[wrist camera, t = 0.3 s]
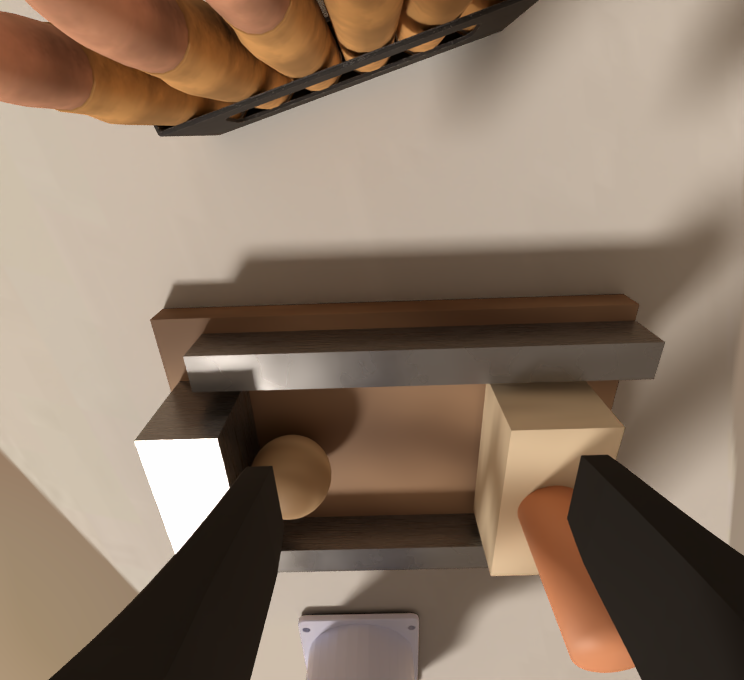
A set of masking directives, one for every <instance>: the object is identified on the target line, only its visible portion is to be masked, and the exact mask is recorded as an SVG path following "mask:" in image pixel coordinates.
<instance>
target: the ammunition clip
mask: <svg viewBox="0 0 744 680" xmlns="http://www.w3.org/2000/svg"><path fill="white" fill-rule="evenodd" d="M25 1H26V2H27V3H28V4H29V5H30V6H31V7H32V8H33V9H34V10H36V11H37V12H38V13H39V14H40V15H42V16H43V17H44V18H45V19H47V20H48V21H49V22H41V21H38V20H34V19H31V18H28V17H24V16H20V15H17V14H13V13H7V12H2V11H0V101H2V102H6V103H11V104H15V105H21V106H26V107H36V108H49V109H55V110H58V111H60V112H68V113H77V114H85V115H89V116H91V117H94V118H96V119H99V120H101V121H104V122H107V123H111V124H125V125H154V127H155V129H156V131H157V133H158V135H159V136H205V135H221V134H224V133H226V132H229V131H232V130H235V129H237V128H240V127H243V126H245V125H248V124H251V123H253V122H256V121H259V120H262V119H264V118H267V117H270V116H272V115H275V114H278V113H280V112H283V111H286V110H289V109H291V108H294V107H297V106H299V105H302V104H305V103H308V102H310V101H313V100H316V99H318V98H321V97H324V96H326V95H329V94H332V93H335V92H337V91H340V90H343V89H345V88H348V87H351V86H353V85H356V84H359V83H362V82H364V81H367V80H370V79H372V78H375V77H378V76H380V75H383V74H386V73H389V72H391V71H394V70H397V69H399V68H402V67H405V66H407V65H410V64H413V63H416V62H418V61H421V60H424V59H426V58H429V57H432V56H434V55H437V54H440V53H443V52H445V51H448V50H451V49H453V48H456V47H459V46H462V45H464V44H467V43H470V42H472V41H475V40H478V39H480V38H483V37H486V36H489V35H491V34H494V33H497V32H499V31H502V30H503V29H504V28H505V27H507V26H508V25H509V24H510V23H511V22H513V21H514V20H515V19H516V18H518V17H519V16H520V15H521V14H522V13H524V12H525V11H526V10H527V9H529V8H530V7H531V6H532V5H533V4H535V3H536V2H537V1H538V0H323V2H324V4H325V7H326V10H327V13H328V15H329V16H328V17H326V18H324V15H323V13H322V11H321V9H320V7H319V4H318V2H317V0H206V2H205V1H203V0H25Z"/></svg>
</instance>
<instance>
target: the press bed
mask: <svg viewBox="0 0 744 680" xmlns="http://www.w3.org/2000/svg"><path fill="white" fill-rule="evenodd" d="M638 308H639V304H638V303H636V302H635V301H633V300H632V299H630V298H629V297H627V296H626V295H624V294H612V295H580V296H549V297H518V298H486V299H455V300H423V301H392V302H360V303H329V304H298V305H266V306H235V307H203V308H172V309H162V310H161V311H160V312H159V313H158V314H156V315H155V316H154V317H153V318H152V319H151V320H150V321H151V324H152V328H153V331H154V335H155V338H156V341H157V345H158V348H159V352H160V355H161V359H162V362H163V365H164V369H165V372H166V376H167V379H168V382H169V386H170V389H171V393H170V394H169V396H168V397H167V398H166V400H165V401H164V402H163V404H162V405H161V406H160V408H159V409H158V410H157V412H156V413H155V414H154V416H153V417H152V418H151V420H150V421H149V422H148V423H147V425H146V426H145V427H144V429H143V430H142V431H141V433H140V434H139V435H138V437H137V438H136V439H135V444H136V447H137V450H138V452H139V455H140V458H141V461H142V464H143V466H144V469H145V472H146V475H147V477H148V480H149V483H150V486H151V488H152V491H153V494H154V497H155V499H156V502H157V505H158V508H159V510H160V513H161V516H162V519H163V522H164V524H165V527H166V530H167V533H168V535H169V538H170V541H171V544H172V546H173V549H174V552H175V554H176V553H177V552H178V551H179V549H180V548H181V547H182V546H183V545H184V544H185V542H186V541H187V540H188V539H189V538H190V536H191V535H192V534H193V533H194V532H195V530H196V529H197V528H198V527H199V526H200V524H201V523H202V522H203V521H204V520H205V518H206V517H207V516H208V515H209V513H210V512H211V511H212V510H213V508H214V507H215V506H216V505H217V503H218V502H219V501H220V500H221V498H222V497H223V496H224V494H225V493H226V492H227V491H228V489H229V488H230V487H231V485H232V484H233V483H234V481H235V480H236V479H237V478H238V476H239V475H240V474H241V472H242V471H243V470H244V469H245V468H246V467H253V466H273V471H274V476H275V482H276V487H277V492H278V497H279V502H280V508H281V513H282V518H283V523H284V533H283V540H282V547H281V554H280V561H279V567H278V572H315V571H360V570H404V569H449V568H489V567H488V564H487V560H486V556H485V552H484V549H483V545H482V541H481V537H480V533H479V530H478V526H477V522H476V518H475V515H474V511H473V507H474V498H475V488H476V478H477V468H478V458H479V449H480V439H481V429H482V419H483V409H484V400H485V390H486V384H498V383H533V382H568V381H586V382H587V383H588V384H589V385H590V387H591V388H592V389H593V390H594V391H595V393H596V394H597V395H598V396H599V397H600V398H601V400H602V401H603V402H604V403H605V404H606V406H607V407H608V408H609V409H610V410H611V409H612V405H613V402H614V398H615V394H616V390H617V387H618V383H619V380H637V379H654V377H655V373H656V370H657V367H658V364H659V360H660V357H661V354H662V351H663V348H664V344H665V342H664V341H663V340H661V339H660V338H659V337H657V336H656V335H655V334H653V333H652V332H650V331H649V330H648V329H646V328H645V327H644V326H642V325H641V324H640V323H638V322H637V321H635V319H636V315H637V312H638Z"/></svg>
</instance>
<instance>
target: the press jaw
mask: <svg viewBox="0 0 744 680" xmlns="http://www.w3.org/2000/svg"><path fill="white" fill-rule="evenodd" d="M624 430H625V427H624V426H623V425H622V423H621V422H620V421H619V420H618V419H617V417H616V416H615V415H614V414H613V413H612V411H611V410H610V409H609V408H608V407H607V406H606V404H605V403H604V402H603V401H602V400H601V398H600V397H599V396H598V395H597V394H596V393H595V391H594V390H593V389H592V388H591V387H590V385H589V384H588V383H587V382H586V381H568V382H533V383H498V384H486V390H485V400H484V409H483V419H482V429H481V439H480V449H479V458H478V468H477V478H476V488H475V498H474V507H473V511H474V515H475V518H476V522H477V526H478V530H479V533H480V537H481V541H482V545H483V549H484V552H485V556H486V560H487V564H488V567H489V571H490V575H491V576H512V575H540V578H541V580H542V583H543V586H544V588H545V591H546V594H547V596H548V599H549V602H550V604H551V607H552V610H553V612H554V615H555V618H556V620H557V623H558V626H559V628H560V631H561V634H562V636H563V639H564V642H565V644H566V647H567V650H568V652H569V655H570V658H571V660H572V661H573V663H574V664H575V665H577V666H578V667H580V668H582V669H585V670H588V671H592V672H600V673H608V672H618V671H623V670H627V669H631V668H634V667H635V665H634V663H633V661H632V659H631V657H630V655H629V653H628V651H627V649H626V647H625V645H624V643H623V641H622V639H621V637H620V635H619V633H618V631H617V629H616V628H615V626H614V624H613V622H612V620H611V618H610V616H609V614H608V612H607V610H606V608H605V606H604V604H603V602H602V600H601V598H600V596H599V594H598V592H597V590H596V588H595V586H594V584H593V582H592V580H591V578H590V576H589V574H588V572H587V570H586V568H585V566H584V564H583V561H582V558H581V556H580V553H579V551H578V548H577V545H576V543H575V540H574V537H573V534H572V531H571V529H570V526H569V523H568V520H567V516H568V511H569V507H570V502H571V498H572V494H573V489H574V485H575V480H576V476H577V472H578V467H579V463H580V458H581V455H609V456H611V457H612V458H613V459H615V460H616V457H617V454H618V450H619V447H620V443H621V440H622V436H623V433H624Z"/></svg>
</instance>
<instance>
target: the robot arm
mask: <svg viewBox="0 0 744 680" xmlns="http://www.w3.org/2000/svg"><path fill="white" fill-rule="evenodd" d="M567 520H568V523H569V526H570V529H571V531H572V534H573V537H574V540H575V543H576V545H577V548H578V551H579V553H580V556H581V558H582V561H583V564H584V566H585V568H586V570H587V572H588V574H589V576H590V578H591V580H592V582H593V584H594V586H595V588H596V590H597V592H598V594H599V596H600V598H601V600H602V602H603V604H604V606H605V608H606V610H607V612H608V614H609V616H610V618H611V620H612V622H613V624H614V626H615V628H616V629H617V631H618V633H619V635H620V637H621V639H622V641H623V643H624V645H625V647H626V649H627V651H628V653H629V655H630V657H631V659H632V661H633V663H634V665H635V667H636V669H637V671H638V673H639V675H640V677H641V679H642V680H744V556H743V555H742V554H740V553H739V552H737V551H736V550H735V549H733V548H732V547H730V546H729V545H728V544H726V543H725V542H723V541H722V540H721V539H719V538H718V537H716V536H715V535H714V534H712V533H711V532H710V531H708V530H707V529H705V528H704V527H703V526H701V525H700V524H699V523H697V522H696V521H695V520H693V519H692V518H691V517H689V516H688V515H687V514H685V513H684V512H683V511H681V510H680V509H679V508H677V507H676V506H675V505H673V504H672V503H671V502H669V501H668V500H667V499H666V498H664V497H663V496H662V495H660V494H659V493H658V492H657V491H655V490H654V489H653V488H651V487H650V486H649V485H647V484H646V483H645V482H644V481H642V480H641V479H640V478H638V477H637V476H636V475H634V474H633V473H632V472H631V471H629V470H628V469H627V468H625V467H624V466H623V465H621V464H620V463H619V462H617V461H616V460H615V459H613V458H612V457H611V456H609V455H581V458H580V463H579V467H578V472H577V476H576V480H575V485H574V489H573V494H572V498H571V502H570V507H569V511H568V516H567ZM283 533H284V523H283V518H282V513H281V508H280V502H279V497H278V492H277V487H276V482H275V476H274V471H273V466H253V467H246V468H245V469H244V470H243V471H242V472H241V474H240V475H239V476H238V478H237V479H236V480H235V481H234V483H233V484H232V485H231V487H230V488H229V489H228V491H227V492H226V493H225V494H224V496H223V497H222V498H221V500H220V501H219V502H218V503H217V505H216V506H215V507H214V508H213V510H212V511H211V512H210V513H209V515H208V516H207V517H206V518H205V520H204V521H203V522H202V523H201V524H200V526H199V527H198V528H197V529H196V530H195V532H194V533H193V534H192V535H191V536H190V538H189V539H188V540H187V541H186V542H185V544H184V545H183V546H182V547H181V548H180V549H179V551H178V552H177V553H176V554H175V555H174V556H173V557H172V558H171V559H170V561H169V562H168V563H167V564H166V565H165V566H164V567H163V568H162V569H161V571H160V572H159V573H158V574H157V575H156V576H155V577H154V578H153V579H152V580H151V582H150V583H149V584H148V585H147V586H146V587H145V588H144V589H143V590H142V591H141V592H140V593H139V594H138V595H137V596H136V597H135V599H133V601H132V602H131V603H130V604H129V605H128V606H127V607H126V608H125V609H124V610H123V611H122V612H121V613H120V614H119V615H118V616H117V617H116V618H115V619H114V620H113V621H112V622H111V623H109V624H108V626H106V627H105V628H104V629H103V630H102V631H101V632H100V633H99V634H98V635H97V636H96V637H95V638H94V639H93V640H92V641H91V642H90V643H89V644H87V646H86V647H84V648H83V649H82V650H81V651H80V652H79V653H78V654H77V655H75V657H73V658H72V659H71V660H70V661H69V662H68V663H67V664H66V665H65V666H63V667H62V668H61V669H60V670H59V671H58V672H57V673H56V674H54V675H53V676H52V677H51V678H50V679H49V680H250V678H251V675H252V671H253V667H254V663H255V659H256V655H257V651H258V648H259V644H260V640H261V636H262V632H263V628H264V624H265V620H266V617H267V613H268V609H269V605H270V601H271V597H272V593H273V589H274V585H275V581H276V577H277V573H278V567H279V561H280V554H281V547H282V540H283ZM298 626H299V632H300V637H301V642H302V648H303V653H304V658H305V664H306V669H307V674H306V680H418V646H419V617H418V616H417V615H416V614H414V613H392V614H344V615H304V616H301V617H300V618H299V623H298Z"/></svg>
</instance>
